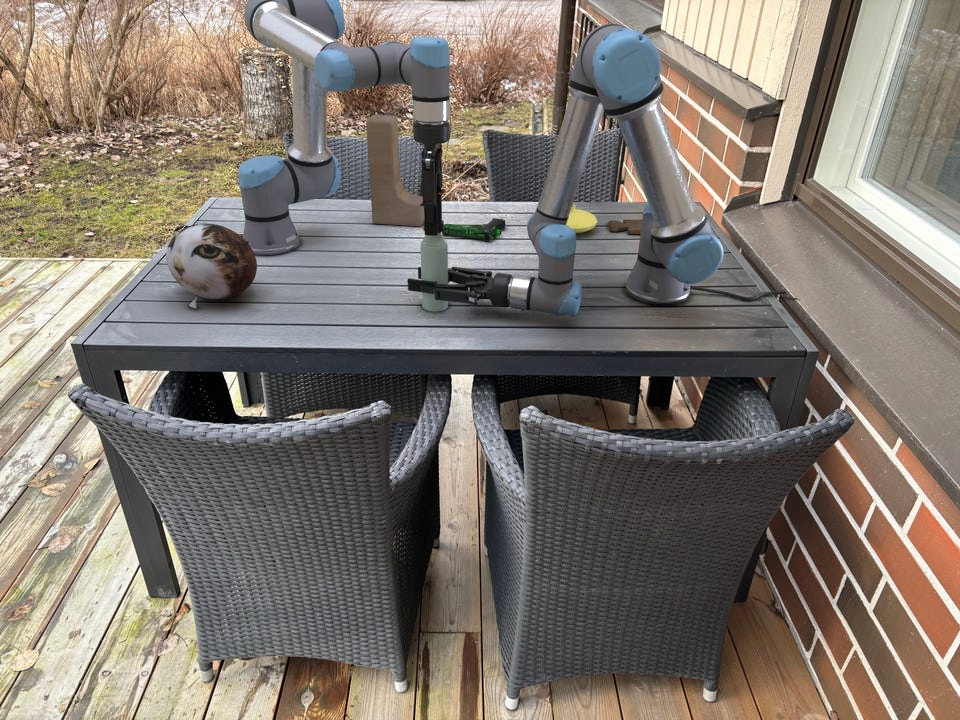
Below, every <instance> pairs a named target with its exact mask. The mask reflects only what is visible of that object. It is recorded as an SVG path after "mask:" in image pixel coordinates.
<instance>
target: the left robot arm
mask: <svg viewBox="0 0 960 720" xmlns="http://www.w3.org/2000/svg"><path fill="white" fill-rule="evenodd" d="M243 11H244V12H243V14H244V15H243V18H244V19H243V20H244V24H245V27H246V30H247V31H248V33H249V34H250V35H251V37H252V38H253V39H254V40H255V41H257V42H258V43H259V44H261V45H262V46H264V47H266V48H269V49H278V50H279V51H281V52H282V53H284V54H285V55H288V57H291V74H292V76H291V77H292V79H291V80H292V86H291V87H292V125H293V126H292V131H293V133H292V134H293V135H292V136H293V137H292V139H293V143H292V144H290V146H289V147H288V148H287V158H286V159H283V158H282V157H281V156H279V155H275V154H268V155H260V156H259V155H258V156H256V157H252V158H249V159H247V160H245V161H244V162H242V163H241V165H239V167H238V170H237V174H238V186H239V190H240V196H241V201H242V208H243V212H244V213H243V215H244V219H245V220H244V226H243V228H244V229H243V234H242V235H241V234H239V235H240V236H241V237H243V238H244V239H245V240H246V241H249V242H248V244H249V245H250V247H251V248H252V250H253V252H254V254H255V256H256V255H257V256H275V255H281V254H282V255H283V254H285V253H289V252H291V251H293V250H296V249H297V248H298V247H299V246H300V244H301V241H300V235H299V233H298V231H297V229H296V227H295V225H294V223H293V220H292V218H291V216H290V207H289V206H290V205H294V204H299V203H303V202H307V201H312V200H322V199H324V198H326V197H329V196H332V195H334V194H335V193H336V192H337V191H338V189H339V187H340V184H341V179H342V178H341V176H342V174H341V168H340V163H339V161H338V158H337V156H336V155H334V153H333V150H332V149H331V148H330V147H329V146H328V140H327V139H328V92H341V93H343V92H346V91H352V90H360V89H366V88H367V89H368V88H374V87H375V88H376V87H383V86H390V85H405V86H410V87H411V98H412V102H411V103H409V108H410V109H413V110H412V119H413V120H414V122H413V123H412V133H413V134H412V135H413V136H412V138H413V141H415V142H416V143H418V144H422V145H424V147H423V148H422V151H421V153H420V157H421V160H420V163H421V183H422V184H421V185H422V186H421V187H422V188H421V189H422V197H423V202H422V204H420V206H421V207H424V223H425V232H424V236H426V235H430V236H437V235H438V220H437V218H438V219H442V220H443V200H442V199H443V197H442V194H445V193H446V189H445V188H443V187H444V184H443V153H444V151H443V144H445V143H448V142H449V141H450V139H451V124H450V123H451V122H450V121H449V120H450V119H451V98H450V95H451V94H450V93H451V92H450V91H451V90H450V87H451V85H450V84H451V83H450V81H451V80H450V78H451V77H450V76H451V73H450V71H451V69H450V68H451V59H450V47H449V46H450V45H449V42H448V40H447V39H445V38H443V37H439V36H438V37H436V36H417V37H413V38H412V39H411V41H410V44H407V43H406V44H405V43H403V42H400V41H385V42H382V43H381V44H378V45H370V46H357V47H355V46H354V47H351V46H348V45H347V44H344V43H342V42H340V41H338V40H339V39H340V38H341V37H342V36H343V34H344V33H345V27H346V21H345V20H346V19H345V13H344V9H343V7H342V4H341V1H340V0H247V2H246V4H245V5H244V10H243ZM184 226H185V227H184ZM188 226H189V225H186V224H185V225H180V226H178V227H176V228H175V229H174V230H173V232H174V233H178V232H179V231H180V230H182V228H183V227H184V228H186V227H188ZM184 228H183V229H184Z"/></svg>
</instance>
